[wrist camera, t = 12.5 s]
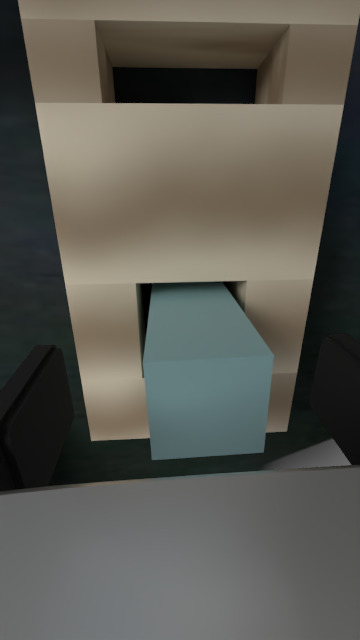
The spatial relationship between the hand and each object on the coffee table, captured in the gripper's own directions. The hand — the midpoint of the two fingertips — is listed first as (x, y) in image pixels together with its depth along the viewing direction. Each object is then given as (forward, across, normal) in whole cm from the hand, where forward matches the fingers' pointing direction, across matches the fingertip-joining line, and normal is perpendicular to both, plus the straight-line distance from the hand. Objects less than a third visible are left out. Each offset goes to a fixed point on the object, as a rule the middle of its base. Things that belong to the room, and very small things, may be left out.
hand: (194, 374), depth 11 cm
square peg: (+9, 0, +1) cm, 9 cm away
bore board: (+9, 0, -4) cm, 10 cm away
